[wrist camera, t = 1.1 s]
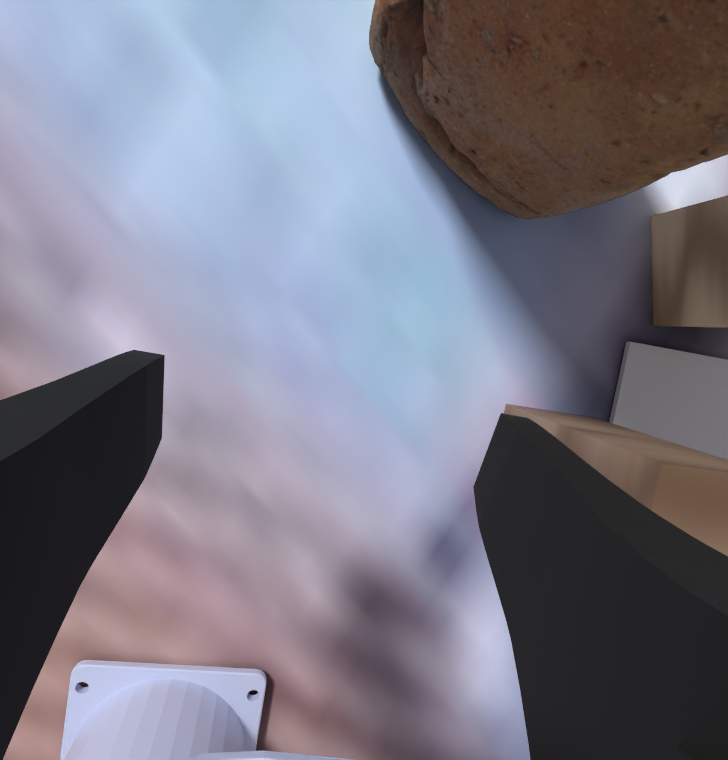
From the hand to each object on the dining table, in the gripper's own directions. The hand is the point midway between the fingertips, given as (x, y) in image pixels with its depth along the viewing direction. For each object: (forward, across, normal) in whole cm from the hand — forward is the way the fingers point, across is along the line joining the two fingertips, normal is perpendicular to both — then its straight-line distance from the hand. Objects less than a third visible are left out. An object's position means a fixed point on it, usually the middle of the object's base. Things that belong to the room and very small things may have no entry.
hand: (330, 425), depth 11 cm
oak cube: (+15, -16, -2) cm, 22 cm away
